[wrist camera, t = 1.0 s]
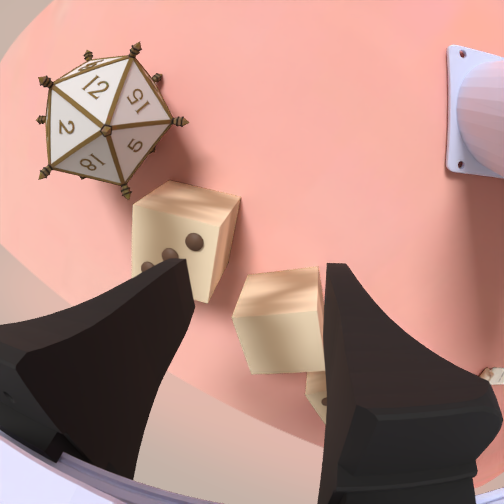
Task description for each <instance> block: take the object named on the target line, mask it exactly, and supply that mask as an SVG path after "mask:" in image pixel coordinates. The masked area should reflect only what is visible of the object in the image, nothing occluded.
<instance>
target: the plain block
mask: <svg viewBox="0 0 504 504" xmlns="http://www.w3.org/2000/svg"><path fill="white" fill-rule="evenodd" d="M323 318H324V301H323V294H322V287H321V281H320V274H319V268H318V266H317V267H309V268H301V269H292V270H284V271H275V272H267V273H258V274H249V275H248V276H247V278H246V281H245V283H244V286H243V289H242V291H241V294H240V297H239V299H238V302H237V305H236V307H235V310H234V312H233V315H232V321H233V324H234V326H235V329H236V332H237V335H238V338H239V341H240V344H241V347H242V349H243V352H244V355H245V358H246V361H247V363H248V366H249V369H250V372H251V374H279V373H299V372H314V371H325V361H324V348H323Z"/></svg>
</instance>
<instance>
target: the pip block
mask: <svg viewBox="0 0 504 504" xmlns="http://www.w3.org/2000/svg"><path fill="white" fill-rule="evenodd" d="M240 199H241V197H240V196H236V195H232V194H227V193H223V192H219V191H215V190H211V189H206V188H202V187H198V186H193V185H189V184H185V183H180V182H176V181H171V180H169V181H167V182H166V183H164V184H163V185H161V186H160V187H158V188H157V189H155V190H154V191H152V192H151V193H149V194H148V195H146V196H145V197H143V198H142V199H140V200H139V201H137V202H136V203H135V204H133V211H132V278H133V277H135V276H137V275H138V274H140V273H142V272H144V271H146V270H147V269H149V268H151V267H153V266H155V265H157V264H158V263H160V262H162V261H165V260H167V259H170V258H179V259H186V260H187V266H188V272H189V277H190V283H191V288H192V293H193V299H194V300H197V301H200V302H204V303H207V304H208V302H209V300H210V298H211V296H212V294H213V292H214V290H215V288H216V286H217V284H218V282H219V280H220V278H221V276H222V274H223V272H224V270H225V268H226V266H227V264H228V262H229V257H230V251H231V246H232V241H233V236H234V230H235V225H236V220H237V215H238V210H239V204H240Z"/></svg>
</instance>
